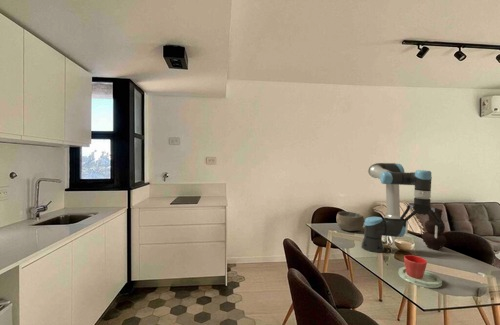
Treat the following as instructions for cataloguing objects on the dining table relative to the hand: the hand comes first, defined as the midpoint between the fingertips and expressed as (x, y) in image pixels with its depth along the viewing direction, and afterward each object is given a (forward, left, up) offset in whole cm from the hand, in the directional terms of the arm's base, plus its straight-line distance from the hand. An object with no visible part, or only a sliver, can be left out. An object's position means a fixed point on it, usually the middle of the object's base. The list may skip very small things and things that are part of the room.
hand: (420, 235), depth 136 cm
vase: (+14, +64, -25) cm, 70 cm away
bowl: (-48, +77, -25) cm, 94 cm away
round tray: (0, 0, -25) cm, 25 cm away
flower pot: (-2, 0, -24) cm, 24 cm away
